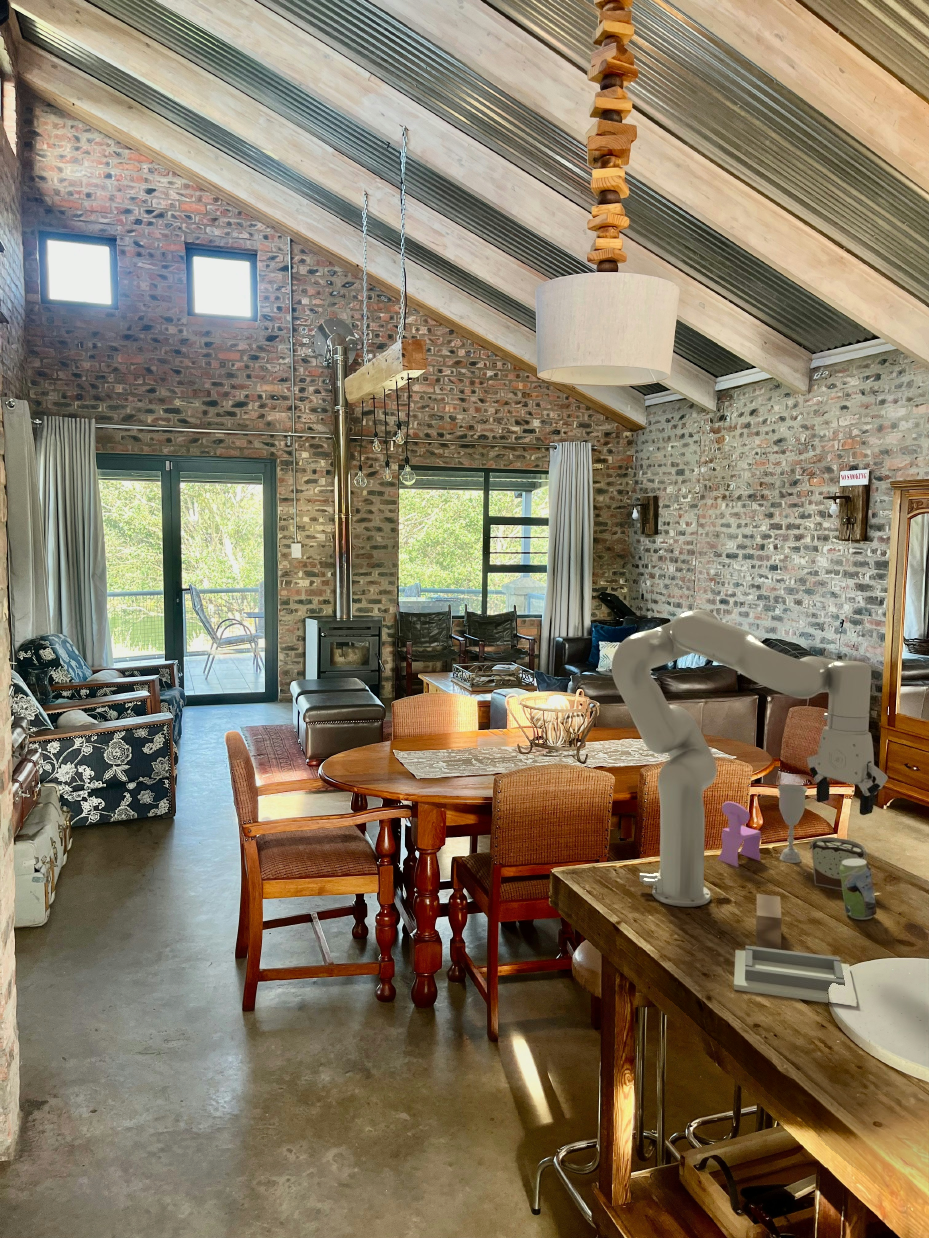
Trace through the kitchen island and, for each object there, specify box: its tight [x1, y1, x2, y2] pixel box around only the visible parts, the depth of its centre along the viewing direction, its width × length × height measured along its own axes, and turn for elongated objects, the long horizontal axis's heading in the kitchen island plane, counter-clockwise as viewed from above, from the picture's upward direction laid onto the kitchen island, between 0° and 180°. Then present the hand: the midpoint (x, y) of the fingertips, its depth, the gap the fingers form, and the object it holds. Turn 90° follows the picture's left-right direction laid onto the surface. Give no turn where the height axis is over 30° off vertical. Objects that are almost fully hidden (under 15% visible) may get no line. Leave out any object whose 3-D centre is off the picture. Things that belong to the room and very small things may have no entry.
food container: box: [808, 837, 868, 891], centre depth 206 cm, size 12×6×10 cm, turn 58°
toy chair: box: [717, 801, 762, 868], centre depth 222 cm, size 8×9×15 cm
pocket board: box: [733, 945, 851, 1004], centre depth 162 cm, size 20×14×3 cm
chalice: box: [777, 783, 808, 864], centre depth 222 cm, size 7×7×18 cm
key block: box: [755, 893, 782, 950], centre depth 178 cm, size 4×11×7 cm, turn 162°
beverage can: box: [840, 858, 878, 920], centre depth 189 cm, size 6×7×12 cm
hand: (843, 807), depth 180 cm, fingers open, 9 cm apart
